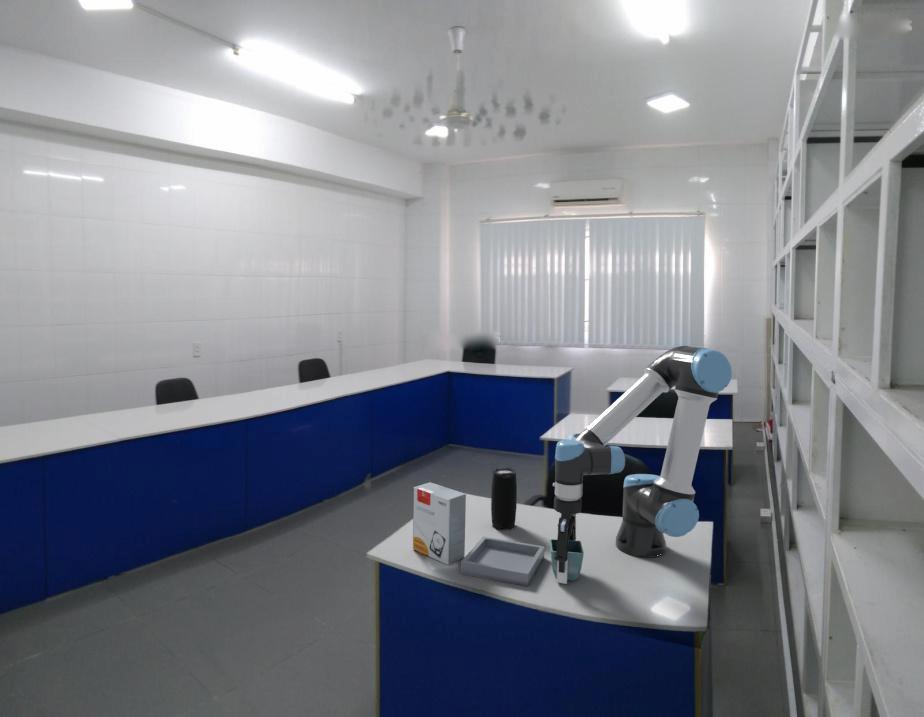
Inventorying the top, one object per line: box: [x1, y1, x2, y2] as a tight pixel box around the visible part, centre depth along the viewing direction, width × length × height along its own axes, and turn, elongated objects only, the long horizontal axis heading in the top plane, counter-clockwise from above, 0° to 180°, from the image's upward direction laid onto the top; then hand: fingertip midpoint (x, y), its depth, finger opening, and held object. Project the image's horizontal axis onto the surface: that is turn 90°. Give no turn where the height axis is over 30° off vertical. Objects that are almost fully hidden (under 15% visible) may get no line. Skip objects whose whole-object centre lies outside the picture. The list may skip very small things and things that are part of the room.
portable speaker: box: [490, 467, 518, 530], centre depth 201 cm, size 9×9×20 cm
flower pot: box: [549, 538, 585, 581], centre depth 165 cm, size 9×9×9 cm
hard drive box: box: [412, 481, 467, 566], centre depth 179 cm, size 16×8×20 cm, turn 47°
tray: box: [460, 536, 546, 587], centre depth 172 cm, size 19×19×4 cm
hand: (565, 574), depth 166 cm, fingers closed on flower pot, 9 cm apart
